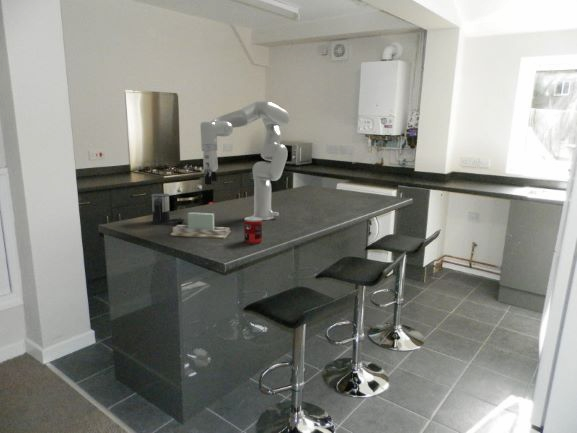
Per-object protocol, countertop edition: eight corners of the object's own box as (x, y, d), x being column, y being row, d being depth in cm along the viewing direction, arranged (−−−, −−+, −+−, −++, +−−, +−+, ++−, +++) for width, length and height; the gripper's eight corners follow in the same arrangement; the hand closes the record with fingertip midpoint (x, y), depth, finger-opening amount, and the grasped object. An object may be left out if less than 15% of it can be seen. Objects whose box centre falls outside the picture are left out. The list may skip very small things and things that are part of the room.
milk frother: (151, 220, 224) (150, 193, 221) (181, 218, 230) (180, 192, 227) (154, 227, 211) (152, 198, 208) (185, 224, 217) (184, 196, 214)
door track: (230, 231, 206) (230, 226, 205) (224, 238, 194) (224, 232, 194) (179, 229, 208) (179, 223, 208) (170, 235, 197) (170, 229, 196)
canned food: (244, 239, 193) (244, 216, 191) (261, 239, 194) (261, 216, 191) (244, 244, 186) (244, 220, 183) (262, 244, 186) (262, 220, 184)
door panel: (214, 231, 202) (214, 213, 200) (212, 233, 199) (212, 214, 197) (190, 230, 203) (189, 212, 201) (188, 232, 200) (187, 213, 198)
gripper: (212, 149, 194) (214, 185, 198) (221, 146, 211) (222, 179, 215) (196, 149, 195) (198, 185, 199) (206, 146, 211) (208, 179, 216)
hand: (211, 182), depth 207 cm, fingers open, 9 cm apart
